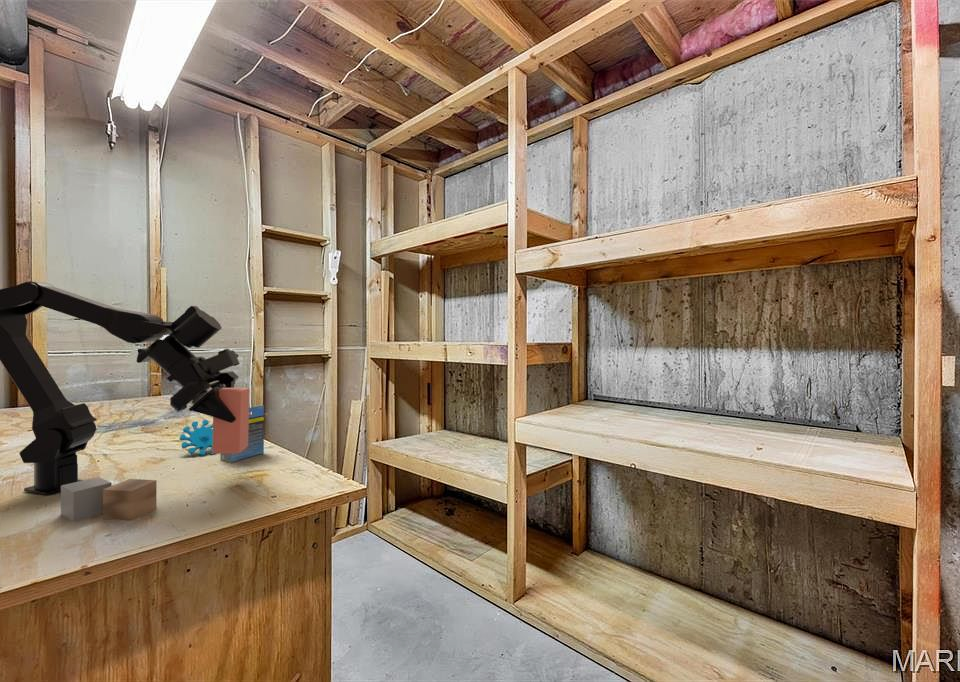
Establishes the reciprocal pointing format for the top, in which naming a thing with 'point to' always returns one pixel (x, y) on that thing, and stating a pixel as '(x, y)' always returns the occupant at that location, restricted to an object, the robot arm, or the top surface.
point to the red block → (234, 433)
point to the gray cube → (83, 498)
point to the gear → (198, 438)
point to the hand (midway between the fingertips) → (238, 418)
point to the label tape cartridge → (250, 437)
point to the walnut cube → (129, 499)
